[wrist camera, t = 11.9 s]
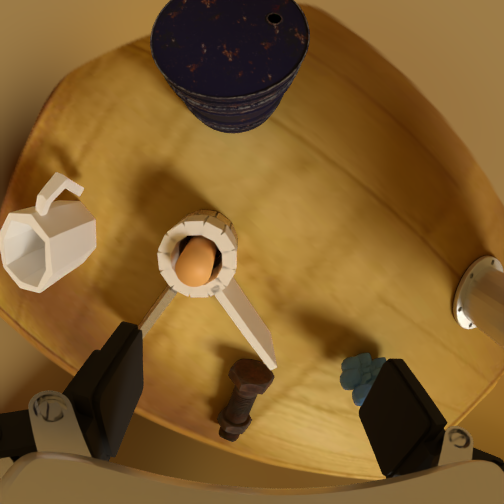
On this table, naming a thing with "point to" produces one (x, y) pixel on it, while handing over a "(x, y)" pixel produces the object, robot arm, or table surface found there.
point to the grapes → (360, 375)
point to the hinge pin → (196, 261)
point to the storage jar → (230, 57)
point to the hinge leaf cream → (217, 279)
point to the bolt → (243, 396)
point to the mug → (47, 237)
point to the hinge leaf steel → (169, 292)
